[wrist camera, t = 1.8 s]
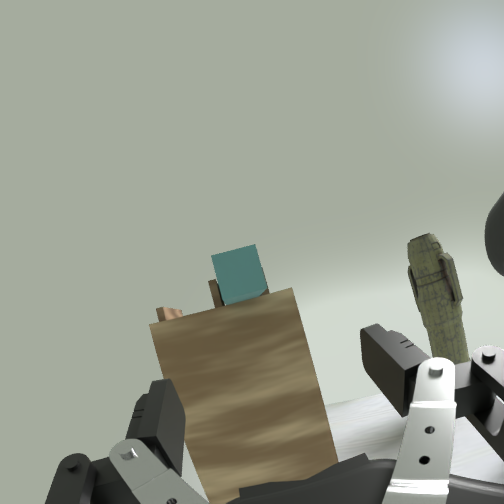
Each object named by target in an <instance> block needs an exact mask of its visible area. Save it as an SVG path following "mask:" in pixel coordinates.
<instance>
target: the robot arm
mask: <svg viewBox="0 0 504 504" xmlns="http://www.w3.org/2000/svg"><path fill="white" fill-rule="evenodd" d="M485 246H486V251H487V255H488V258H489V260H490V262H491V264H492V266H493V267H494V269H495V270H496V271H497V272H498V273H499V274H501V275H502V276H504V193H503V194H502V195H501V197H500V198H499V200H498V201H497V202H496V204H495V205H494V206H493V208H492V209H491V211H490V213H489V215H488V217H487V221H486V225H485ZM360 339H361V351H362V362H363V365H364V368H365V371H366V372H367V374H368V375H369V376H370V378H371V379H372V380H373V381H374V382H375V384H376V385H377V386H378V388H379V389H380V390H381V391H382V393H383V394H384V395H385V396H386V398H387V399H388V400H389V401H390V403H391V404H392V405H393V407H394V408H395V409H396V410H397V412H398V413H399V414H400V415H401V417H402V418H403V417H405V416H407V415H408V419H407V423H406V427H405V432H404V436H403V440H402V444H401V447H400V451H399V455H398V458H397V460H395V459H376V460H369V459H368V458H367V456H366V454H365V453H363V454H361V455H358V456H355V457H353V458H350V459H347V460H344V461H342V462H339V463H336V464H334V465H332V466H330V467H328V468H326V469H325V470H323V471H321V472H319V473H317V474H315V475H313V476H311V477H309V478H307V479H304V480H295V481H279V482H267V483H263V484H258V485H253V486H248V487H242V488H239V495H240V497H238V498H235V499H233V500H231V501H229V502H227V503H226V504H504V484H497V483H491V482H486V481H481V480H475V479H471V478H466V477H461V476H457V475H453V474H449V473H450V466H451V459H452V450H453V441H454V429H455V419H457V418H460V417H464V416H465V417H466V418H467V419H468V420H469V421H470V423H471V424H472V425H473V426H474V427H475V428H476V429H477V431H478V432H479V433H480V434H481V435H482V436H483V438H484V439H485V440H486V441H487V442H488V443H489V444H490V446H491V447H492V448H493V449H494V450H495V452H496V453H497V454H498V455H499V456H500V457H501V459H502V460H503V461H504V404H503V403H502V402H501V401H499V400H498V399H497V398H496V395H497V396H498V397H500V398H501V399H502V400H503V402H504V350H502V349H501V348H499V347H497V346H494V345H485V346H481V347H479V348H477V349H476V350H474V352H473V354H472V360H471V361H468V362H465V363H461V364H457V365H454V364H453V363H452V362H451V361H449V360H448V359H445V358H430V357H429V356H428V355H427V354H425V353H424V352H423V351H422V350H421V349H420V348H418V347H417V346H416V345H414V344H413V343H412V342H411V341H410V340H408V339H407V338H406V337H405V336H404V335H402V334H401V333H398V332H395V331H392V330H391V331H388V332H387V331H386V330H385V329H384V328H383V327H381V326H380V325H379V324H374V325H371V326H369V327H366V328H363V329H361V331H360ZM185 423H186V416H185V411H184V408H183V405H182V403H181V401H180V398H179V396H178V394H177V392H176V389H175V387H174V385H173V382H172V381H171V379H170V378H168V379H162V380H156V381H152V383H151V386H150V390H149V393H148V394H143V395H142V396H141V397H140V399H139V400H138V401H137V402H136V405H135V408H134V412H133V415H132V419H131V421H130V425H129V428H128V431H127V435H126V439H125V440H123V441H121V442H119V443H117V444H116V445H115V446H114V447H113V448H112V449H111V451H110V454H109V457H107V458H103V459H100V460H96V461H92V462H91V461H90V460H89V458H88V457H87V456H86V455H84V454H80V453H76V454H72V455H69V456H67V457H65V458H64V459H63V460H62V461H61V462H60V464H59V466H58V468H57V471H56V474H55V476H54V479H53V482H52V485H51V488H50V490H49V493H48V496H47V499H46V502H45V504H210V503H209V502H208V501H206V500H205V499H204V498H203V497H202V496H200V495H199V494H198V493H197V492H196V491H195V490H194V489H193V488H191V487H190V486H189V485H188V484H187V483H186V482H185V481H184V480H183V479H182V478H181V476H182V460H183V448H184V447H183V446H184V435H185Z"/></svg>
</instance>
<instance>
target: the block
mask: <svg viewBox="0 0 504 504" xmlns="http://www.w3.org/2000/svg"><path fill="white" fill-rule="evenodd" d="M211 257H212V261H213V265H214V269H215V273H216V277H217V280H218V284H219V288H220V292H221V296H222V299H223V301H224V302H225V304H226V305H229V304H233V303H237V302H241V301H245V300H248V299H252V298H256V297H259V296H260V295H261V294H262V293H263V292H264V291H265V290H266V289H267V284H266V281H265V277H264V274H263V270H262V267H261V263H260V260H259V257H258V253H257V249H256V246H255V244H254V245H250V246H246V247H243V248H239V249H235V250H231V251H227V252H223V253H219V254H216V255H212V256H211Z"/></svg>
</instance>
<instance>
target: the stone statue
mask: <svg viewBox="0 0 504 504" xmlns="http://www.w3.org/2000/svg"><path fill="white" fill-rule="evenodd" d="M408 259H409V262H410V266H409V267H408V276H409V279H410V283H411V286H412V289H413V293H414V297H415V301H416V304H417V307H418V310H419V312H421V316H422V320H423V325H424V327H425V328H426V329H427V332H428V336H429V341H430V346H431V351H432V356H433V358H445V359H448V360H449V361H451V362H452V363H453V364H454V365H457V364H461V363H465V362H468V361H471V360H470V358H469V355H468V349H467V343H466V338H465V333H464V328H463V323H462V308H461V304H460V303H461V301H462V299H463V296H462V293H461V289H460V285H459V281H458V277H457V273H456V269H455V265H454V261H453V258H452V257H451V256H450V255H449V254H448V253H444V252H443V249H442V246H441V244H440V242H439V241H438V239H437V238H436V237H435V235H434V234H430V233H428V234H424V235H422V236H419V237H416V238H414V239H412V240H410V242H409V243H408Z"/></svg>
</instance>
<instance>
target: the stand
mask: <svg viewBox="0 0 504 504" xmlns="http://www.w3.org/2000/svg"><path fill="white" fill-rule="evenodd" d="M262 270H263V268H262ZM263 274H264V272H263ZM264 277H265V275H264ZM265 281H266V279H265ZM208 282H209V286H210V290H211V294H212V297H213V301H214V305H215V308H214V309H210V310H207V311H203V312H199V313H195V314H190V315H186V316H183V315H182V311H181V310H178V309H172V308H166V307H160V308H157V309H156V311H157V315H158V319H159V322H157V323H153V324H149V326H150V330H151V334H152V338H153V342H154V345H155V349H156V353H157V356H158V360H159V364H160V367H161V371H162V374H163V377H164V379H168V378H170V379H171V381H172V382H173V385H174V387H175V389H176V392H177V394H178V396H179V398H180V401H181V403H182V405H183V408H184V411H185V416H186V423H185V435H184V441H185V443H186V446H187V449H188V451H189V454H190V457H191V459H192V462H193V464H194V467H195V469H196V472H197V474H198V477H199V479H200V482H201V484H202V486H203V488H204V491H205V493H206V496H207V498H208V500H209V503H210V504H226V503H227V502H229V501H231V500H233V499H235V498H238V497H240V495H239V488H242V487H248V486H253V485H258V484H263V483H267V482H279V481H295V480H304V479H307V478H309V477H311V476H313V475H315V474H317V473H319V472H321V471H323V470H325V469H326V468H328V467H330V466H332V465H334V464H336V463H339V462H338V458H337V454H336V450H335V446H334V442H333V438H332V434H331V430H330V426H329V422H328V418H327V414H326V410H325V406H324V403H323V399H322V395H321V391H320V387H319V384H318V380H317V376H316V372H315V369H314V365H313V361H312V358H311V354H310V350H309V347H308V343H307V339H306V336H305V332H304V328H303V325H302V321H301V318H300V314H299V310H298V307H297V303H296V300H295V296H294V293H293V289H292V288H288V289H285V290H281V291H277V292H274V293H271V294H270V293H269V289H268V286H267V289H266V290H265V291H264V292H263V293H262V294H261V295H260V296H259V297H256V298H252V299H248V300H245V301H241V302H237V303H233V304H229V305H226V306H225V304H224V301H223V299H222V296H221V292H220V288H219V285H218V283H217V281H216V279H214V280H210V281H208ZM266 284H267V282H266Z"/></svg>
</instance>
